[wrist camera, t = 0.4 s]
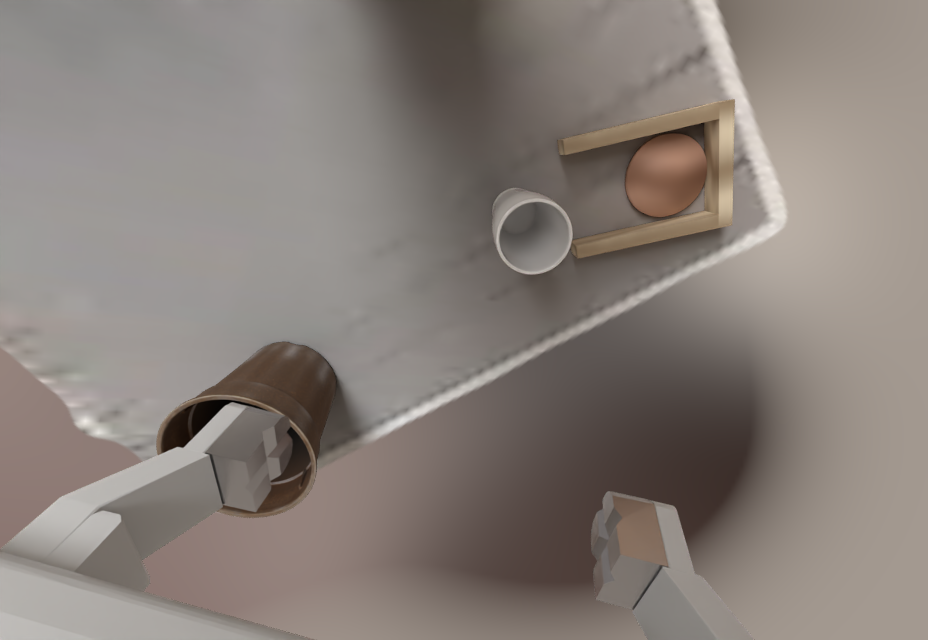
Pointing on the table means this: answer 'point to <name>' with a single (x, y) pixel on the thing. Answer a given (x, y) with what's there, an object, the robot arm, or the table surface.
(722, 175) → the guide channel
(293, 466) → the plant pot
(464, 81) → the table surface
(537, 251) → the white cup
